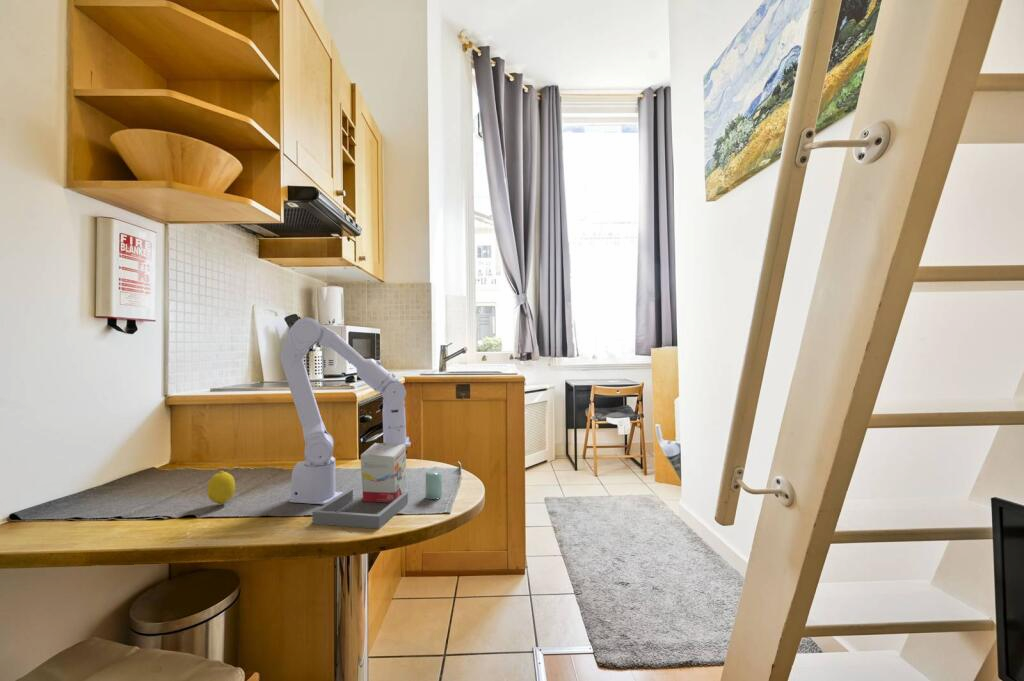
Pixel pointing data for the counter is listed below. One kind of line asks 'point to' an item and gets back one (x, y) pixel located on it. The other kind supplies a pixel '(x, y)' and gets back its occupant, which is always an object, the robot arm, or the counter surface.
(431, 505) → the counter surface
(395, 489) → the ink box
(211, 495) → the lemon
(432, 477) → the teal ceramic jar
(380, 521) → the tray
